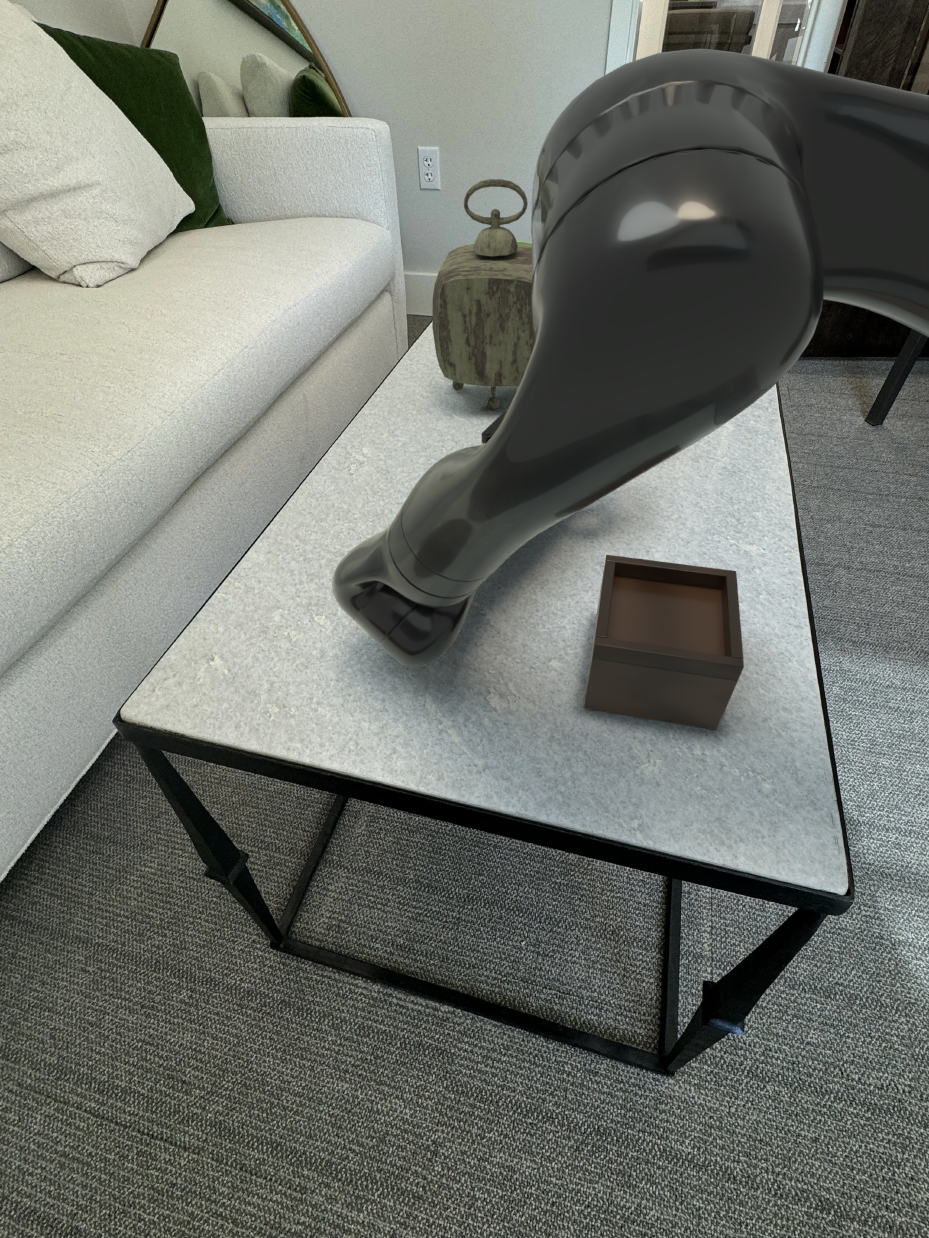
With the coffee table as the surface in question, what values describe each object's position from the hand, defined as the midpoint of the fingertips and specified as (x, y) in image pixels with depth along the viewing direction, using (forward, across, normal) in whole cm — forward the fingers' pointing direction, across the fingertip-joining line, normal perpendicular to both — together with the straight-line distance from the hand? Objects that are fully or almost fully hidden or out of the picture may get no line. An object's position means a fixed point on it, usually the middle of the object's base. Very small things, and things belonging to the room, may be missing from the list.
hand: (586, 418), depth 68 cm
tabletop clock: (+10, +18, +7) cm, 21 cm away
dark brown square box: (-23, -18, +7) cm, 30 cm away
